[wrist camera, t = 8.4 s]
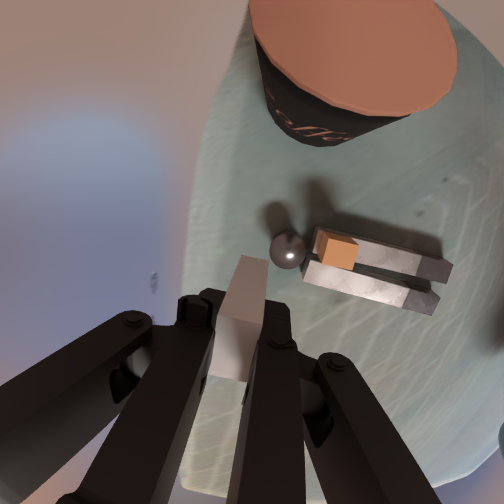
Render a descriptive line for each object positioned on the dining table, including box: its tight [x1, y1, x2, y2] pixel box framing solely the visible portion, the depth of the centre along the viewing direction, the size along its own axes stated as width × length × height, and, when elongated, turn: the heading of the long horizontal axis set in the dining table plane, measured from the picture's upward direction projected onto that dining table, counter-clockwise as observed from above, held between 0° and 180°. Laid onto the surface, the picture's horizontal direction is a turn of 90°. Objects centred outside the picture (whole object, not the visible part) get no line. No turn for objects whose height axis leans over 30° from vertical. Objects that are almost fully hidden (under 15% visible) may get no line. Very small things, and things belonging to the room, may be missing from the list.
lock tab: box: [318, 231, 359, 270], centre depth 25 cm, size 3×2×3 cm
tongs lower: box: [269, 225, 453, 284], centre depth 28 cm, size 22×5×3 cm, turn 79°
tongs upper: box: [301, 253, 440, 316], centre depth 29 cm, size 18×2×2 cm, turn 75°
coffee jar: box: [249, 0, 458, 147], centre depth 17 cm, size 11×11×18 cm
